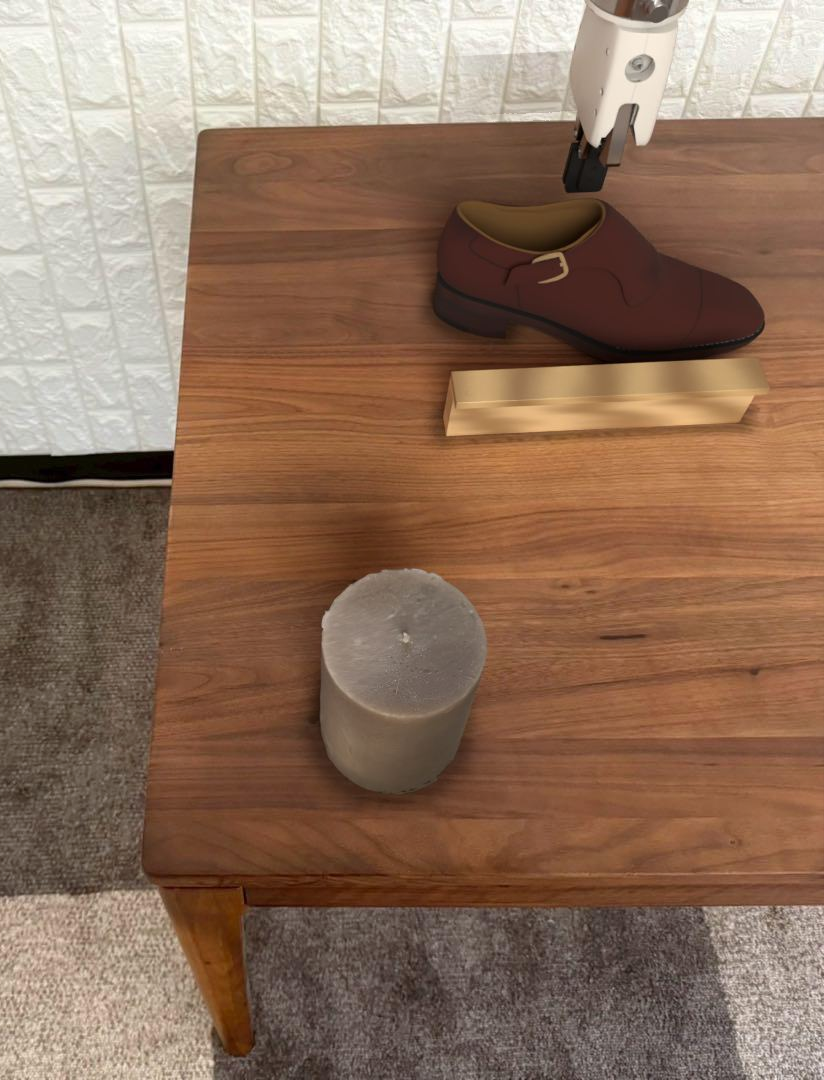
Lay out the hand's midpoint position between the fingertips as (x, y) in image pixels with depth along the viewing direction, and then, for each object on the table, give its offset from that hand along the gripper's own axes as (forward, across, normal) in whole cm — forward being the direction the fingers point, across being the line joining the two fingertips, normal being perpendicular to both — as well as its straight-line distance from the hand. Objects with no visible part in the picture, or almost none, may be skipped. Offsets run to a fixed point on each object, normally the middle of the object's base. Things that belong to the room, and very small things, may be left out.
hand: (581, 186), depth 89 cm
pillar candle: (+6, -46, +21) cm, 51 cm away
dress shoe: (+6, -10, 0) cm, 12 cm away
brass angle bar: (+6, -21, +2) cm, 22 cm away
